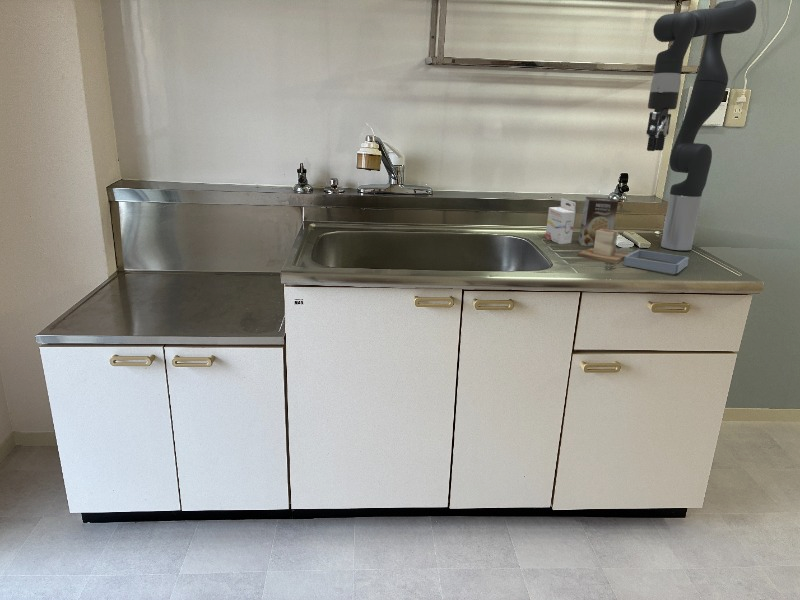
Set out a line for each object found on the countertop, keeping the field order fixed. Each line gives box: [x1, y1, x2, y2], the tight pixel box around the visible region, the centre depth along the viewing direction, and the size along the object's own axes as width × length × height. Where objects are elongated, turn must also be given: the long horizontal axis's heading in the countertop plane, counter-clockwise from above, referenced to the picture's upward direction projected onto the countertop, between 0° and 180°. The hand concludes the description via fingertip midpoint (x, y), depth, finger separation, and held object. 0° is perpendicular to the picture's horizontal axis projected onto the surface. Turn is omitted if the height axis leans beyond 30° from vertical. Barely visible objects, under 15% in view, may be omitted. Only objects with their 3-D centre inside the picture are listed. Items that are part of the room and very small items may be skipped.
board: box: [576, 247, 629, 265], centre depth 175 cm, size 12×12×1 cm
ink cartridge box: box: [544, 197, 577, 245], centre depth 190 cm, size 9×5×15 cm, turn 22°
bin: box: [622, 249, 690, 275], centre depth 167 cm, size 15×15×2 cm
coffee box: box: [578, 196, 619, 247], centre depth 187 cm, size 9×6×16 cm
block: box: [593, 229, 619, 256], centre depth 174 cm, size 5×5×7 cm
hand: (654, 150), depth 166 cm, fingers open, 8 cm apart
